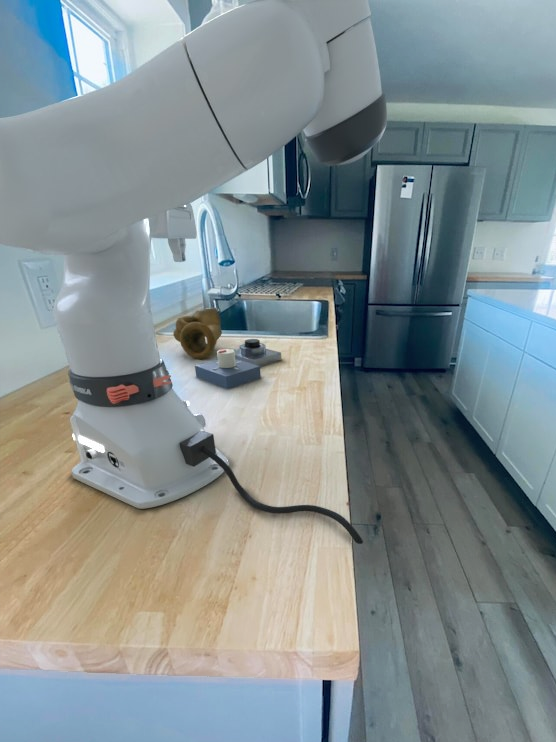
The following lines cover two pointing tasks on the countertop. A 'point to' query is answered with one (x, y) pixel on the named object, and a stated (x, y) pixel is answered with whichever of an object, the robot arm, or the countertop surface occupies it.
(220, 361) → the knob
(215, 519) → the countertop surface
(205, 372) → the panel
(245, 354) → the housing
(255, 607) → the countertop surface
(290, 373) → the countertop surface
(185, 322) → the brown looped sculpture
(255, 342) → the button
